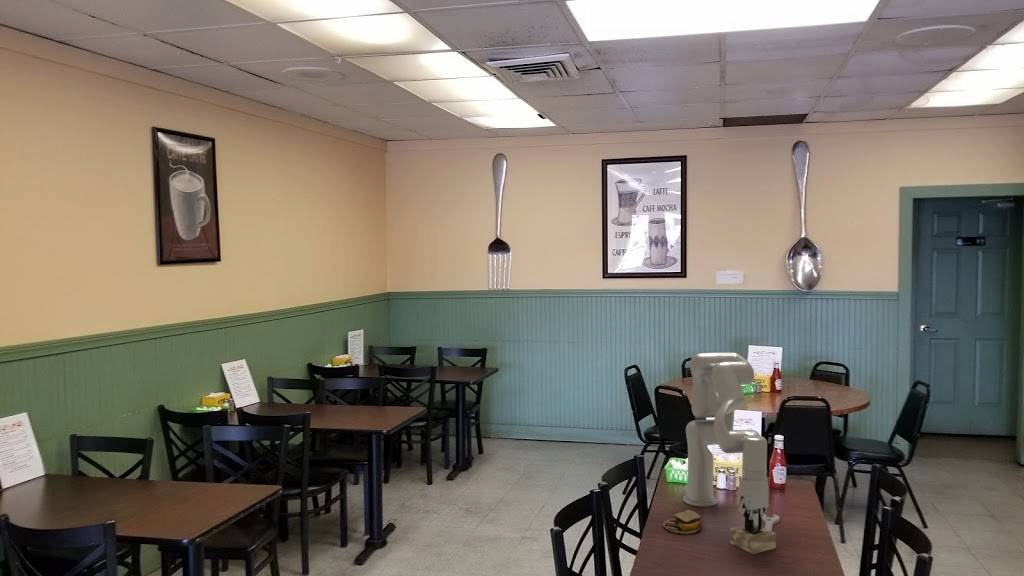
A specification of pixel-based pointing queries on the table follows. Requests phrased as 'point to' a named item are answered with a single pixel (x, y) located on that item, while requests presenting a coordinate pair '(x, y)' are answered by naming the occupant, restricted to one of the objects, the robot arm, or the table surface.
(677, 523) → the toy sandwich meal
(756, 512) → the metal peg
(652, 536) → the table surface
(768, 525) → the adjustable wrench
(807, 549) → the table surface
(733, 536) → the block
